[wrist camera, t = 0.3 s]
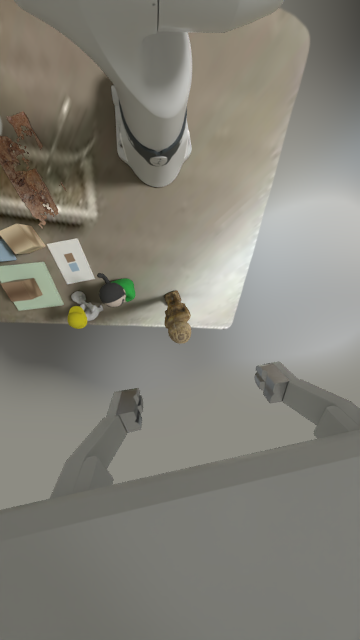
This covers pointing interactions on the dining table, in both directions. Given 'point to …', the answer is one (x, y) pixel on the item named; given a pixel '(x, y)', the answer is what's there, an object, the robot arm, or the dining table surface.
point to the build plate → (43, 281)
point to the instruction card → (71, 261)
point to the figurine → (82, 311)
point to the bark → (32, 180)
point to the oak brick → (22, 239)
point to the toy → (116, 291)
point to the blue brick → (6, 252)
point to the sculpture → (177, 318)
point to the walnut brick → (22, 289)
